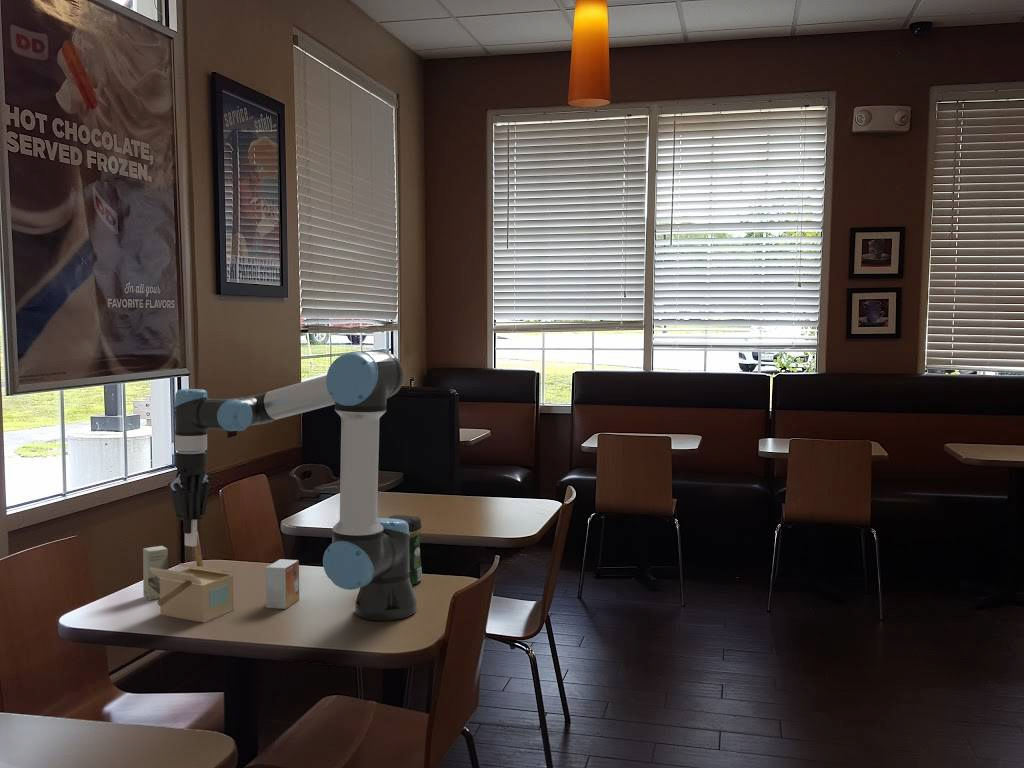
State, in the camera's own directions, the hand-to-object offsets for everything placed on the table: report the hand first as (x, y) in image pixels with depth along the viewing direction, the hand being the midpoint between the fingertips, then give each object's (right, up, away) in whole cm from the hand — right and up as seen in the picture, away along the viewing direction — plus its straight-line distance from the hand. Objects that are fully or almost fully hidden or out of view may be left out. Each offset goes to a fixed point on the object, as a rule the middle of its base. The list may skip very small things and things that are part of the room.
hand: (190, 545), depth 217 cm
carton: (+2, -16, -2) cm, 16 cm away
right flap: (+3, -6, -1) cm, 7 cm away
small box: (+22, -16, +4) cm, 27 cm away
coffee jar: (+50, -15, +23) cm, 57 cm away
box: (-13, -16, +10) cm, 23 cm away
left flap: (-1, -5, -9) cm, 11 cm away
